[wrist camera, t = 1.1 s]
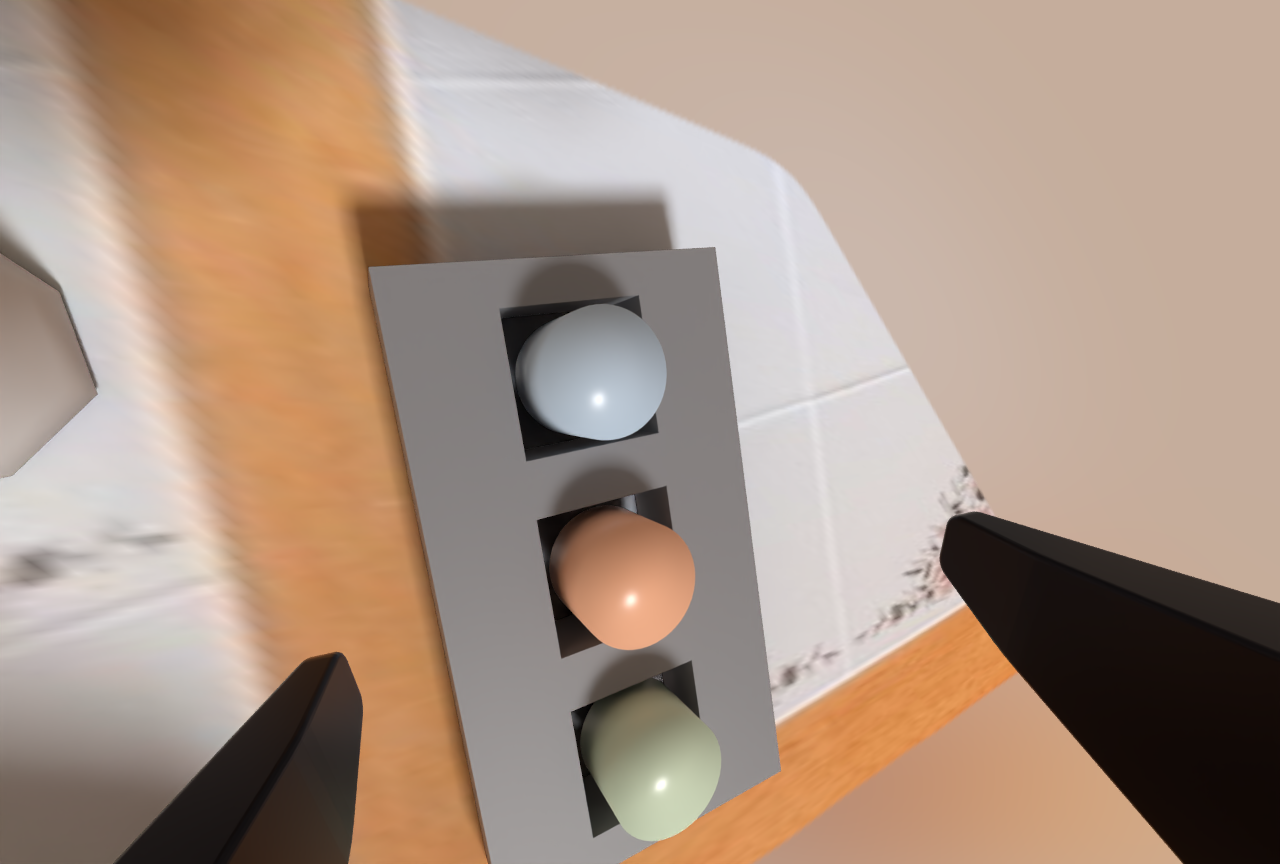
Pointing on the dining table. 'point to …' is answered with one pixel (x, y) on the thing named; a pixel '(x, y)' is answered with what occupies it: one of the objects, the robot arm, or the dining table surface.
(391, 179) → the dining table surface
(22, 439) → the flask
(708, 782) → the button sage
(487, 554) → the button panel
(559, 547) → the button terracotta
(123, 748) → the dining table surface
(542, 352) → the button blue
